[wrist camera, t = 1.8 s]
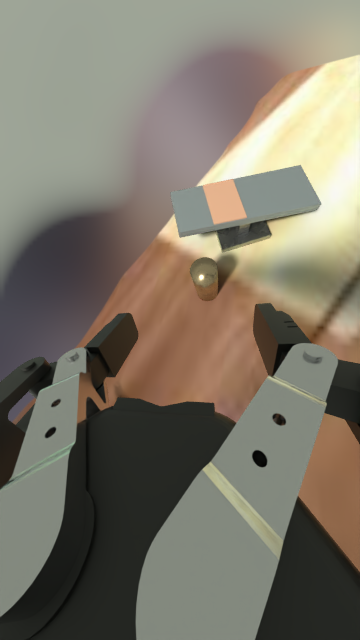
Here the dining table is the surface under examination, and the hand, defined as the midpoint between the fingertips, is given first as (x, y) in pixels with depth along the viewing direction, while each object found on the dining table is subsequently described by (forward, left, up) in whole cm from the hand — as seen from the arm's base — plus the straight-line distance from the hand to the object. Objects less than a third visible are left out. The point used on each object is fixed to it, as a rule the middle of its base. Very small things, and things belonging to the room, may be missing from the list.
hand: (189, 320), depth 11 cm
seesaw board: (-12, -25, -18) cm, 33 cm away
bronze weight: (-2, -11, -23) cm, 25 cm away
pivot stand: (-12, -25, -23) cm, 36 cm away
